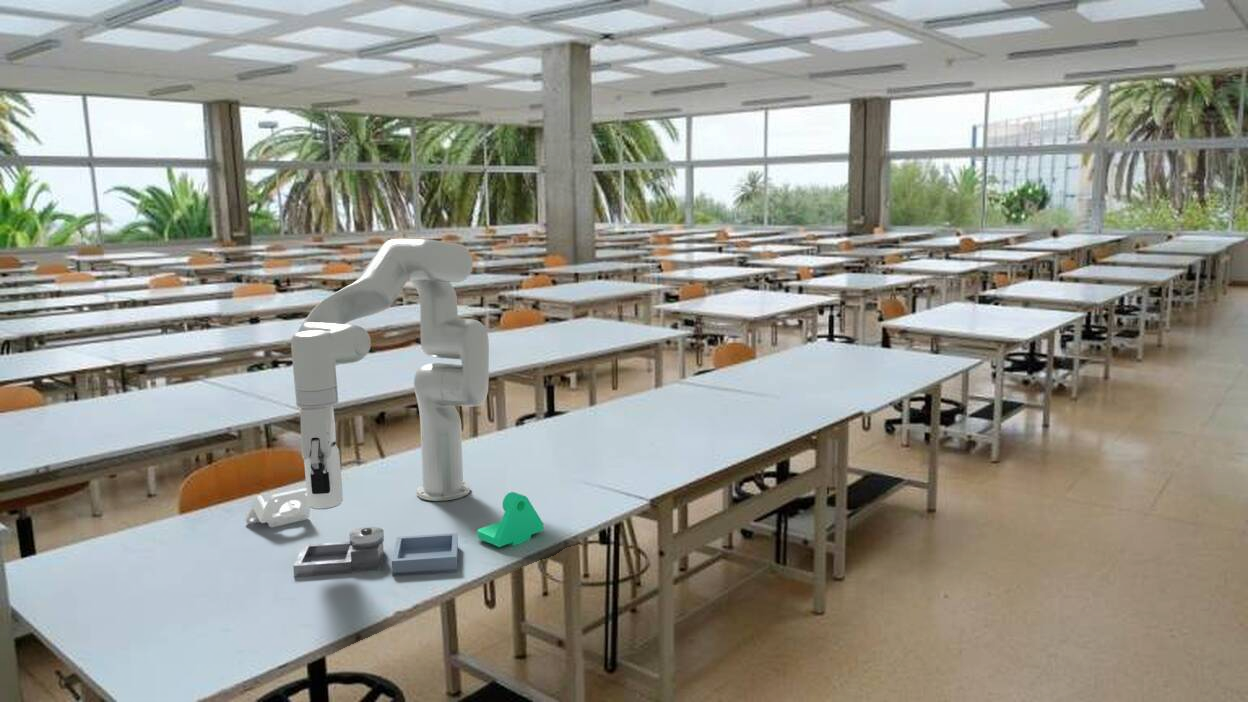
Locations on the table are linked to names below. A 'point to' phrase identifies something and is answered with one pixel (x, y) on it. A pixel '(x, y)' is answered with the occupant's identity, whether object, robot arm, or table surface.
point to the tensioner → (360, 554)
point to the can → (335, 481)
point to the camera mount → (513, 522)
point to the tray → (425, 554)
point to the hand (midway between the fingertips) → (324, 485)
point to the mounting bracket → (280, 508)
